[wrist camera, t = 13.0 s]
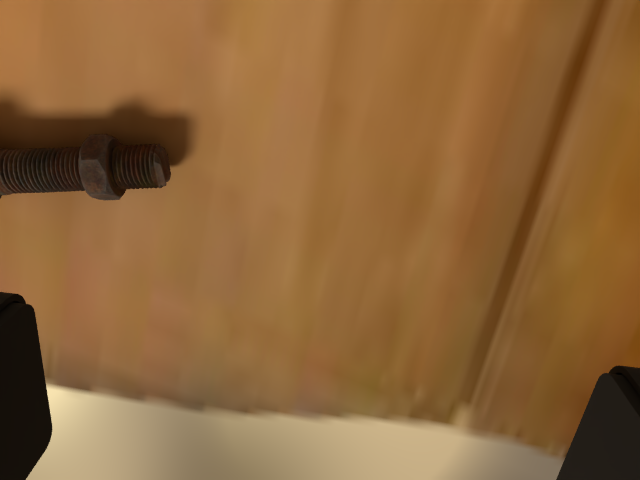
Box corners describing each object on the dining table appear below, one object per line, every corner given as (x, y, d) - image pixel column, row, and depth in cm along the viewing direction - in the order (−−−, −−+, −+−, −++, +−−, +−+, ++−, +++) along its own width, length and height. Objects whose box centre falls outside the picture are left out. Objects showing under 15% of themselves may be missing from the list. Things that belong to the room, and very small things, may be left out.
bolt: (179, 161, 42) (-5, 168, 42) (162, 112, 38) (-42, 120, 38) (169, 218, 39) (-32, 225, 39) (148, 171, 35) (-76, 180, 35)
